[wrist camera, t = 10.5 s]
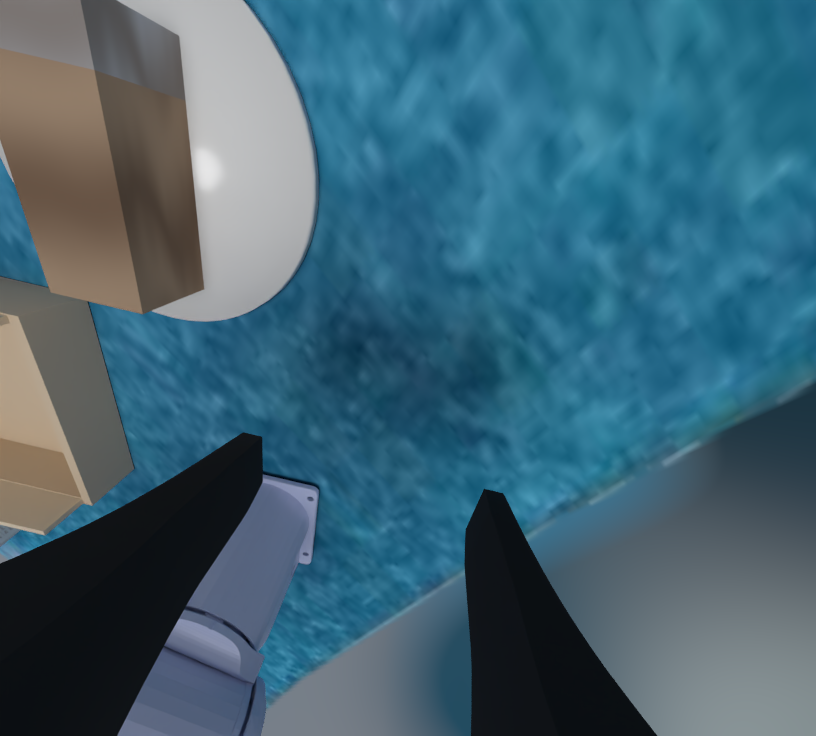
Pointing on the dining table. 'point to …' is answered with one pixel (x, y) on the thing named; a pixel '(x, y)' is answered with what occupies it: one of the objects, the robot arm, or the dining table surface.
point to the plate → (240, 155)
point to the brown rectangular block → (100, 150)
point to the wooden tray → (53, 410)
